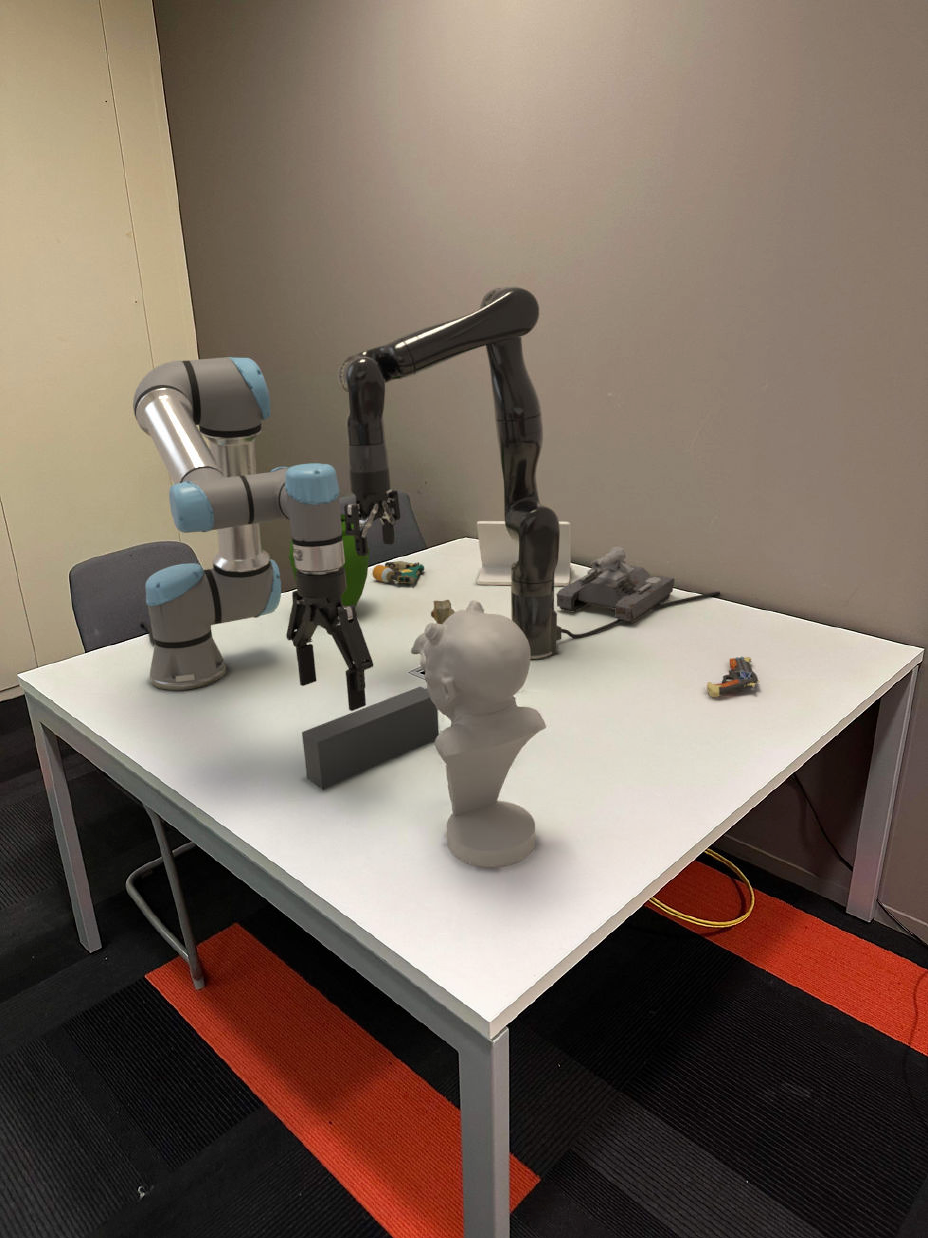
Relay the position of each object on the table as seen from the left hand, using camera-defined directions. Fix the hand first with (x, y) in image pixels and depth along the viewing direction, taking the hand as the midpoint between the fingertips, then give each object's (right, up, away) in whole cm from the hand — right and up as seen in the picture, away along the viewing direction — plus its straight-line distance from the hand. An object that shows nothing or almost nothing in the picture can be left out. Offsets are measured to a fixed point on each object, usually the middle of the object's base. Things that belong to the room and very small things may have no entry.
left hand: (332, 695), depth 137 cm
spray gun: (+4, +24, +104) cm, 106 cm away
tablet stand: (+38, +24, +102) cm, 112 cm away
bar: (+6, -12, +10) cm, 16 cm away
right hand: (+4, +26, +29) cm, 39 cm away
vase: (-11, +13, +77) cm, 79 cm away
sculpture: (+17, +1, +43) cm, 46 cm away
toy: (+59, +16, +78) cm, 99 cm away
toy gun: (+75, 0, +34) cm, 82 cm away
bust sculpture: (+22, -19, -12) cm, 31 cm away
